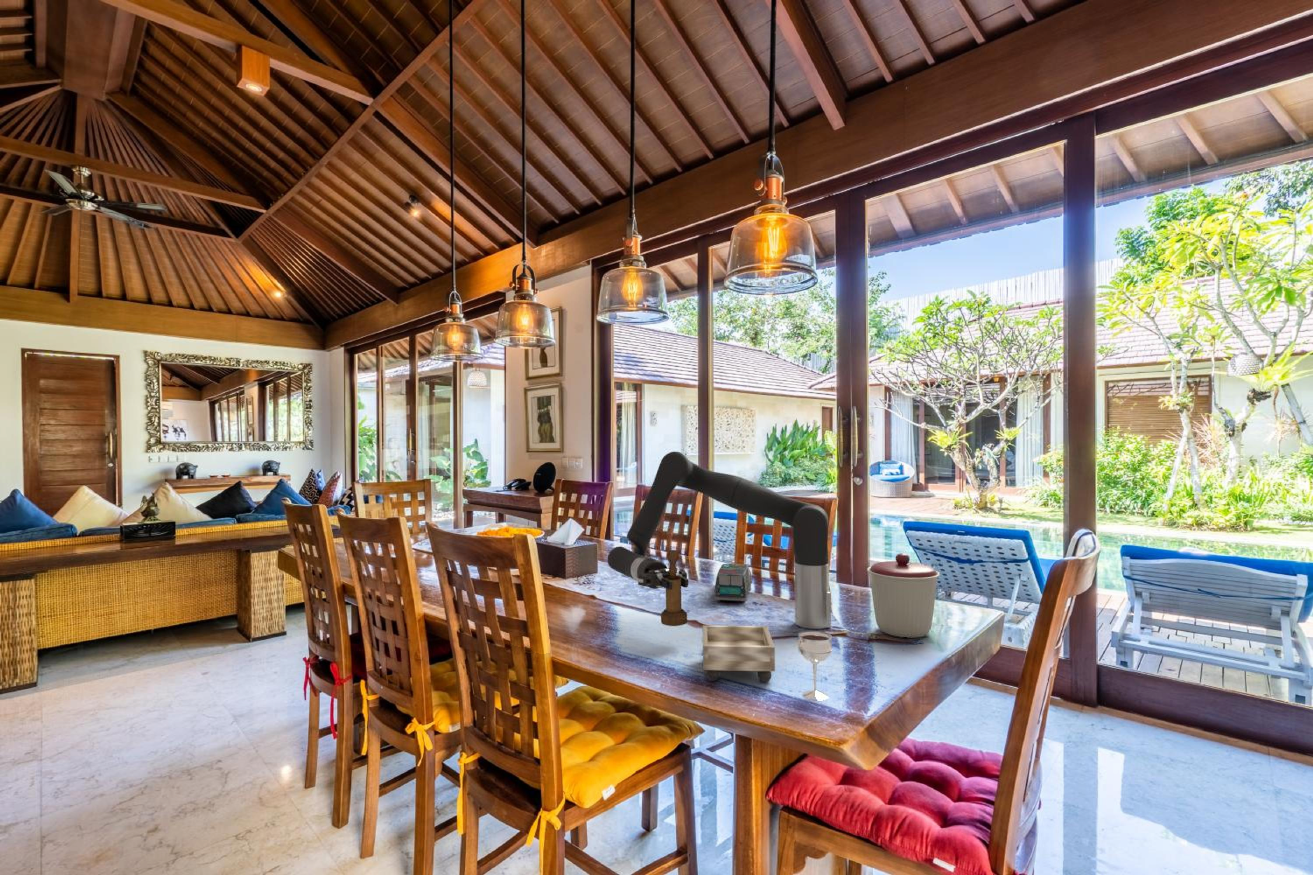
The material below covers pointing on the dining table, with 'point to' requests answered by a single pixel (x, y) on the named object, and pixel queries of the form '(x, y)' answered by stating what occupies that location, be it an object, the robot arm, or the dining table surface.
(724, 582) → the toy van
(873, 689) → the dining table surface
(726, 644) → the cart
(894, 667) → the dining table surface
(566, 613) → the dining table surface
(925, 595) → the canister
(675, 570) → the mortar and pestle
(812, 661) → the wineglass
